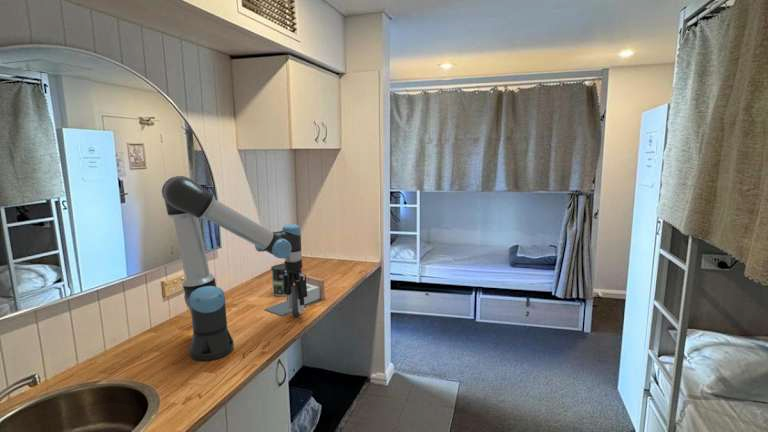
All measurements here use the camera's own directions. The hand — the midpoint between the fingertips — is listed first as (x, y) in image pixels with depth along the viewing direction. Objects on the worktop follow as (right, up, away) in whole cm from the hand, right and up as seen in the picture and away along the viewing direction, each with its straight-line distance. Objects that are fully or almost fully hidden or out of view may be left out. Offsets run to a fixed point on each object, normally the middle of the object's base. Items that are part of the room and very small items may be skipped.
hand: (296, 309), depth 184 cm
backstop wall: (+4, +1, +24) cm, 24 cm away
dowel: (0, -3, 0) cm, 3 cm away
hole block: (+1, 0, +19) cm, 19 cm away
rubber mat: (-3, -1, +14) cm, 15 cm away
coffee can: (-14, +2, +31) cm, 34 cm away
